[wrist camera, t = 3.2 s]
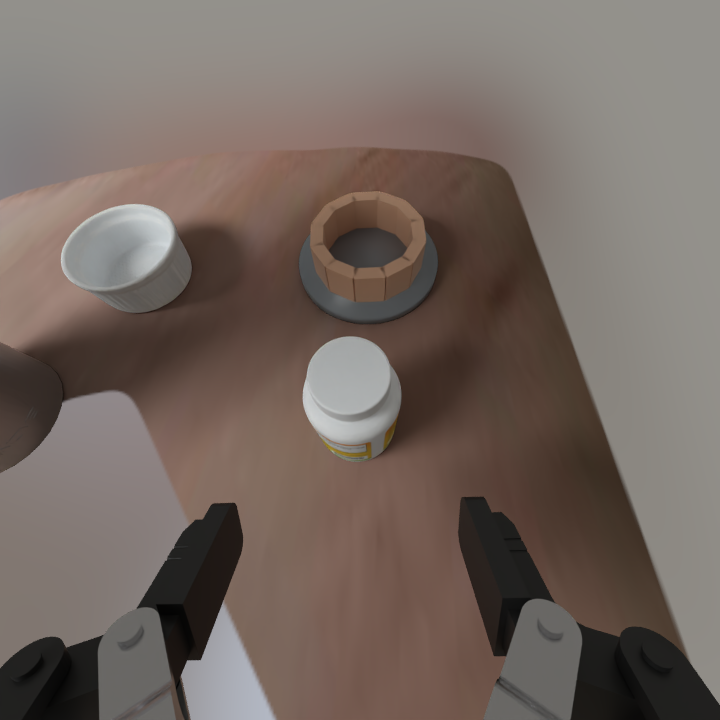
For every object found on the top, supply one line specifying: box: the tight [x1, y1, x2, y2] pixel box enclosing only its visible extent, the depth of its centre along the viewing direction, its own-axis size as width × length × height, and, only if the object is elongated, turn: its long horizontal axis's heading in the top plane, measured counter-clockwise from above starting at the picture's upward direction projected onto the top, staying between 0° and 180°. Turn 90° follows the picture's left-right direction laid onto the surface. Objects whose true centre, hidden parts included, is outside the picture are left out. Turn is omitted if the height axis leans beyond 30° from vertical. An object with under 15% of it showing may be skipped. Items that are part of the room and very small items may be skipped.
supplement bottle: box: [303, 336, 401, 462], centre depth 20 cm, size 5×5×10 cm
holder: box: [299, 191, 438, 324], centre depth 29 cm, size 12×12×4 cm
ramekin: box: [61, 204, 192, 313], centre depth 29 cm, size 9×9×4 cm
